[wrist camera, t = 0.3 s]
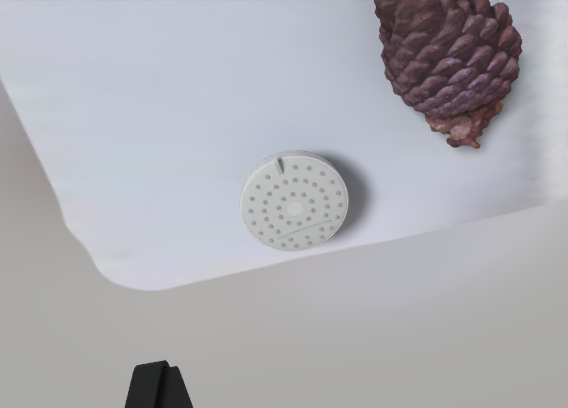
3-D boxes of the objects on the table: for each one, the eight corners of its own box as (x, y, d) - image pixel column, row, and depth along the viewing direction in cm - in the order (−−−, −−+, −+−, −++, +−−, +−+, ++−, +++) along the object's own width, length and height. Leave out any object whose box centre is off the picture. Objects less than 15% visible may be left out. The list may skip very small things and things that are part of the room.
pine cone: (321, -11, 40) (345, 3, 31) (427, -97, 38) (484, -107, 29) (424, 147, 47) (466, 194, 39) (517, 84, 45) (584, 119, 36)
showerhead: (330, 138, 38) (363, 237, 43) (317, 109, 45) (347, 198, 49) (219, 178, 39) (263, 271, 44) (221, 144, 46) (260, 229, 50)
